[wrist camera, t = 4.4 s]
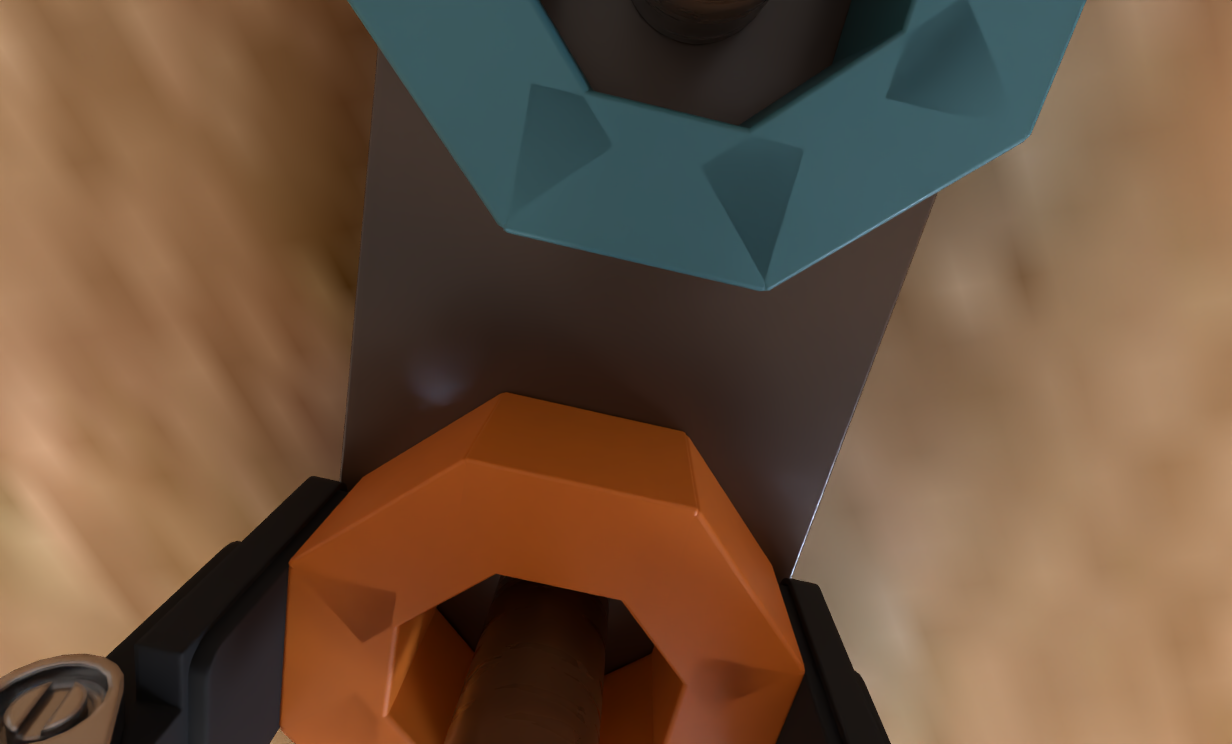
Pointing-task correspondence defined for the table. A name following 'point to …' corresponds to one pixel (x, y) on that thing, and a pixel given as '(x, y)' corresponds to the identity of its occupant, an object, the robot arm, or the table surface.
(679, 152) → the teal faceted ring
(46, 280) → the table surface
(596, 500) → the orange octagonal ring
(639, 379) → the stand
